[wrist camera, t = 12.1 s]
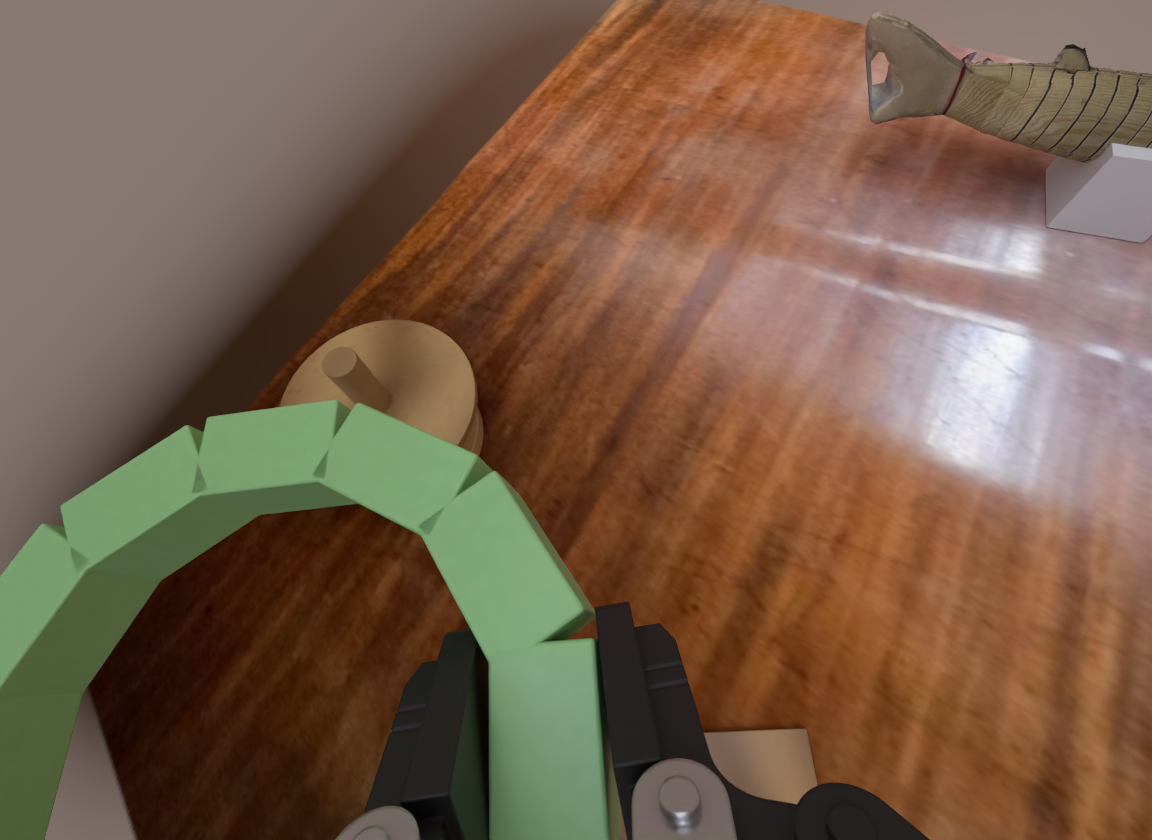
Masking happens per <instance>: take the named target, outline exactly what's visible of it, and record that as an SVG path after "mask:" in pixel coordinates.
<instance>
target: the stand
mask: <svg viewBox="0 0 1152 840" xmlns="http://www.w3.org/2000/svg"><path fill="white" fill-rule="evenodd" d="M335 399H336V400H339V401H340V402H342V403H343V404H344V405H346V406H347V407H348V408H350V409H351V410H352V409H353V407H354V406H355V404H357V403H362V404H364V405H366V406H369V407H371V408H373V409H376V410H378V411H380V412H382V413H385V414H387V415H389V416H391V417H394V418H396V419H398V420H400V421H403V422H405V423H407V424H409V425H412V426H414V427H416V428H418V429H421V430H423V431H425V432H427V433H430V434H432V435H434V436H436V437H439V438H441V439H443V440H445V441H448V442H450V443H452V444H454V445H457V446H459V447H461V448H464V449H466V450H468V451H470V452H473V453H475V454H477V455H478V456H479V455H480V452H481V448H482V444H483V422H482V417H481V414H480V411H479V408H478V406H477V401H478V396H477V384H476V379H475V375H474V372H473V369H472V367H471V365H470V363H469V361H468V359H467V357H466V355H465V353H464V352H463V351H462V350H461V348H460V347H459V346H458V345H457V344H456V343H455V342H454V341H453V340H452V339H451V338H450V337H449V336H447V335H446V334H444V333H443V332H441V331H439V330H437V329H435V328H433V327H431V326H428V325H426V324H423V323H419V322H414V321H408V320H384V321H376V322H372V323H368V324H363V325H360V326H358V327H355V328H352V329H350V330H348V331H345V332H343V333H341V334H339V335H338V336H336V337H334V338H332V339H331V340H329V341H328V342H326V343H325V344H324V345H322V346H321V347H320V348H318V349H317V350H316V351H315V352H314V353H313V354H312V355H310V356H309V357H308V358H307V360H306V361H305V362H304V363H303V364H302V365H301V366H300V368H299V369H298V370H297V372H296V373H295V374H294V376H293V377H292V379H291V381H290V383H289V384H288V386H287V388H286V390H285V393H284V395H283V397H282V400H281V404H280V407H284V406H292V405H299V404H306V403H313V402H320V401H328V400H335Z"/></svg>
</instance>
